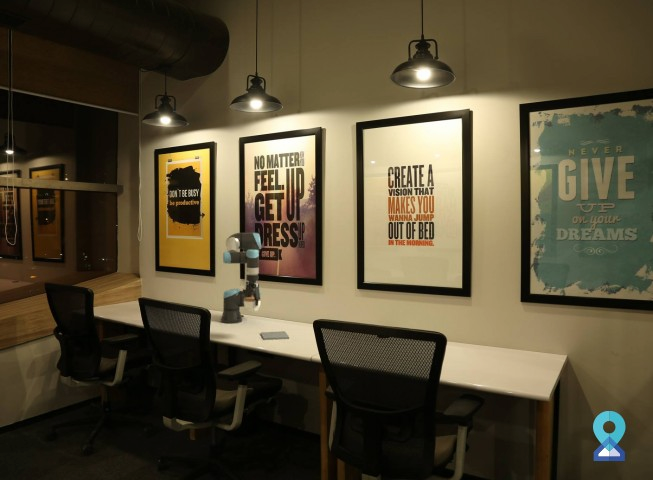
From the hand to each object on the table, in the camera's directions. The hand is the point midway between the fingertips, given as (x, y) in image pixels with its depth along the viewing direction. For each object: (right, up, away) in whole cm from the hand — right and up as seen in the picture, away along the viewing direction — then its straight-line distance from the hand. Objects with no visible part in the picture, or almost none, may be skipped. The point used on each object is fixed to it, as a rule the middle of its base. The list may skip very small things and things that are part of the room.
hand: (252, 309), depth 300 cm
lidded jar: (0, -1, 0) cm, 1 cm away
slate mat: (+14, -18, +4) cm, 23 cm away
